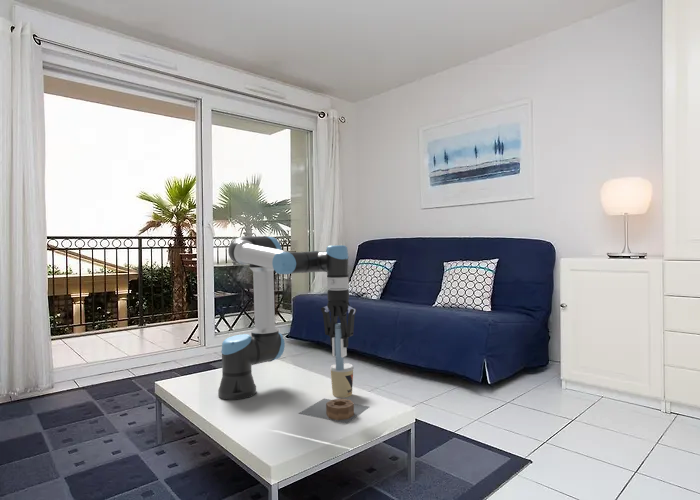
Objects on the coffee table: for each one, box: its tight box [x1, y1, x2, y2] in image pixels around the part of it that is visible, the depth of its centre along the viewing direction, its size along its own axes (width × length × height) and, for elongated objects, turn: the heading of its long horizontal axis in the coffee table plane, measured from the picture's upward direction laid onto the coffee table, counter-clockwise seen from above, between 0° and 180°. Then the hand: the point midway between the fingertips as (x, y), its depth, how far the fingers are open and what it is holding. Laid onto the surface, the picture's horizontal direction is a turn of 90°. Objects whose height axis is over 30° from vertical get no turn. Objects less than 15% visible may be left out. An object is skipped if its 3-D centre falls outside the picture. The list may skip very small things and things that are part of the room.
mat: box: [298, 398, 370, 424], centre depth 159 cm, size 20×17×1 cm
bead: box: [326, 398, 355, 420], centre depth 154 cm, size 9×9×4 cm
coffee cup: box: [329, 362, 354, 399], centre depth 176 cm, size 9×9×12 cm
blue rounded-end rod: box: [335, 322, 345, 371], centre depth 154 cm, size 3×3×16 cm
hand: (339, 355), depth 154 cm, fingers closed on blue rounded-end rod, 3 cm apart
